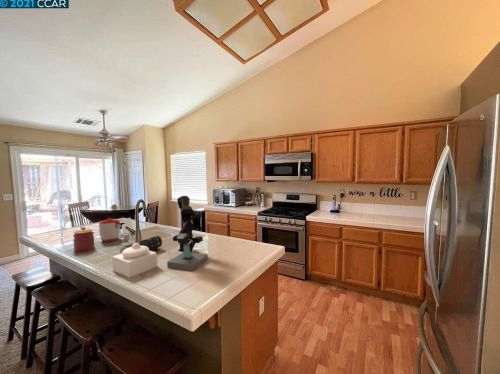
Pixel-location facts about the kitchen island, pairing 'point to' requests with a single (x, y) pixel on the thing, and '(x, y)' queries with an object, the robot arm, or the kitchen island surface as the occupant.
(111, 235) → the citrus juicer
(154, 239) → the muzzle brake
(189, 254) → the block
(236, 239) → the kitchen island surface
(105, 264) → the kitchen island surface
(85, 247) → the canister
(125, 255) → the butter dish
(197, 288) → the kitchen island surface
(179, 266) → the outlet plate
